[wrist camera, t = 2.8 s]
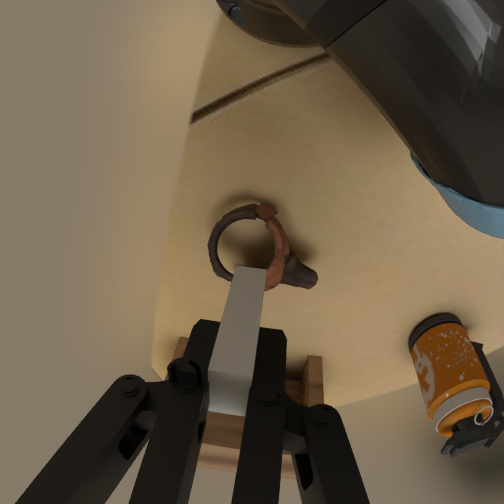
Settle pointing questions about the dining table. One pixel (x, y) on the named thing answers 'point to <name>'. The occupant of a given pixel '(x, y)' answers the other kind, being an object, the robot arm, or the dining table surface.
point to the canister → (456, 385)
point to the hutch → (231, 426)
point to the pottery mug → (278, 268)
